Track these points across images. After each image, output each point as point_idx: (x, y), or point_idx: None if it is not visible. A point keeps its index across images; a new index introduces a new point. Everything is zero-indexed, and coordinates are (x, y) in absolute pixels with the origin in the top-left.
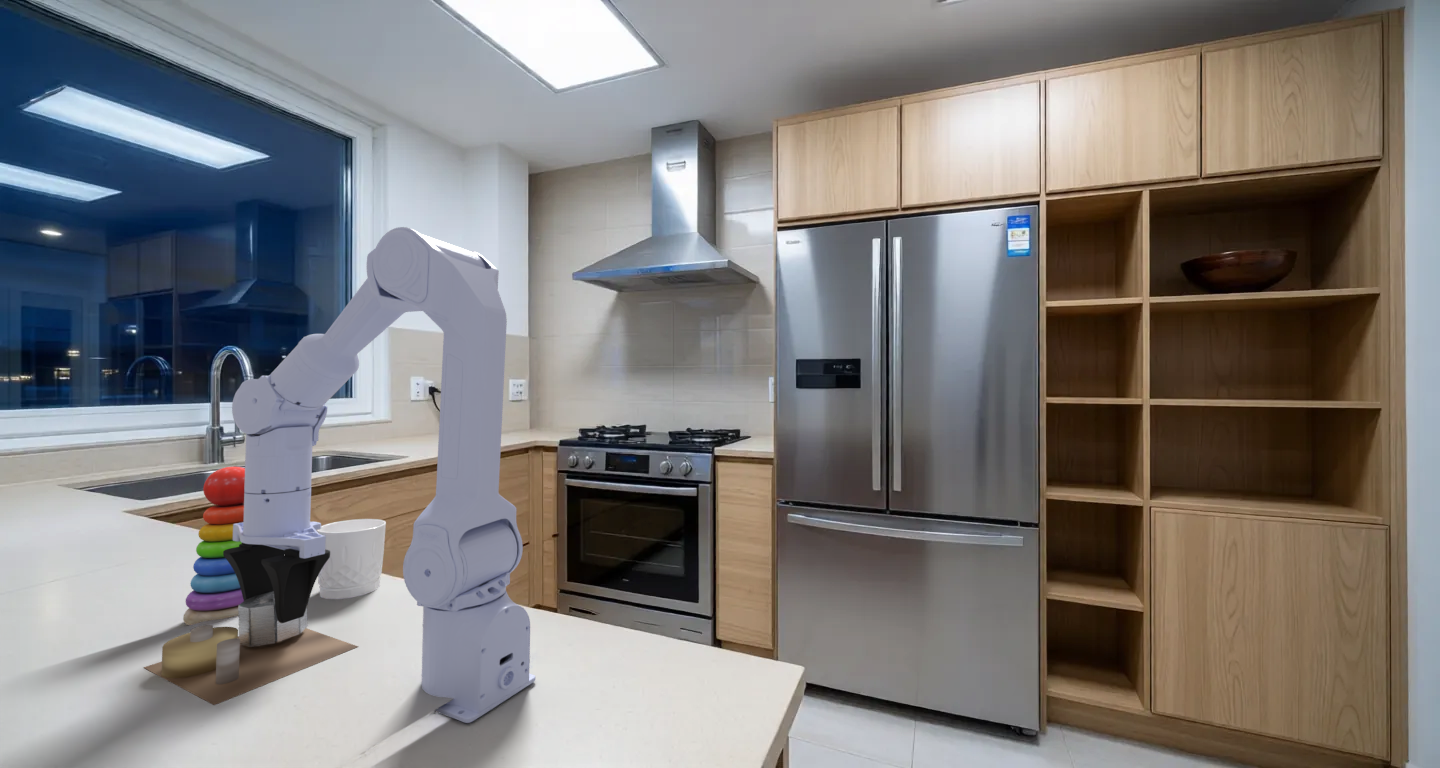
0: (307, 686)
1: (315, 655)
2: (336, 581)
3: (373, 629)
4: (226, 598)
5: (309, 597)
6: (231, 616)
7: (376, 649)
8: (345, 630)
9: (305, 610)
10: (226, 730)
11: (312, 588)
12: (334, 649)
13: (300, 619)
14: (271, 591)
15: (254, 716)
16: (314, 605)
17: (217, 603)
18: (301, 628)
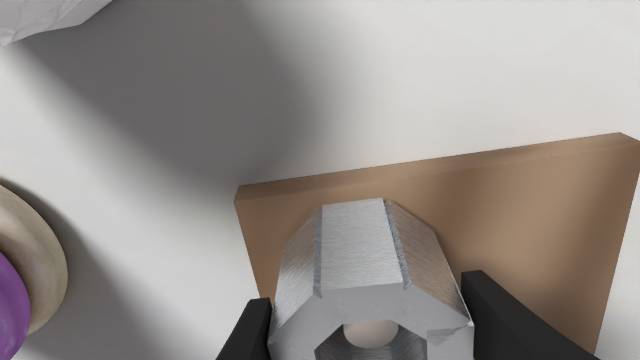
0: (625, 249)
1: (576, 230)
2: (54, 4)
3: (469, 4)
4: (13, 332)
5: (525, 306)
6: (60, 278)
7: (624, 74)
8: (387, 71)
9: (489, 277)
10: (628, 355)
11: (556, 330)
12: (593, 191)
13: (442, 255)
14: (261, 340)
15: (631, 327)
16: (18, 41)
17: (22, 338)
18: (428, 231)
